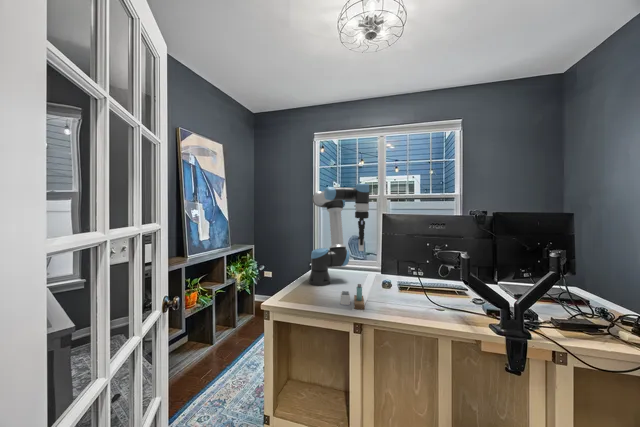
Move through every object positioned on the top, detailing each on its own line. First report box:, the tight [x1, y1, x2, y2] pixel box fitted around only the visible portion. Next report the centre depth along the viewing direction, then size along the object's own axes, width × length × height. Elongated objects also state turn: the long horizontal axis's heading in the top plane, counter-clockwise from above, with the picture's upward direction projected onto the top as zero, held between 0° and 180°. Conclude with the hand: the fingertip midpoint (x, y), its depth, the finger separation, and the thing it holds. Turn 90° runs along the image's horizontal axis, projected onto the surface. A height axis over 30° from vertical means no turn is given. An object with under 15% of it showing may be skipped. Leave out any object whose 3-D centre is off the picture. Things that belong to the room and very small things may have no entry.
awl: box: [356, 283, 363, 301], centre depth 145 cm, size 3×3×8 cm
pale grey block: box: [340, 290, 351, 306], centre depth 148 cm, size 5×5×6 cm
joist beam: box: [353, 294, 365, 310], centre depth 146 cm, size 14×5×2 cm, turn 174°
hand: (360, 248), depth 152 cm, fingers open, 13 cm apart
